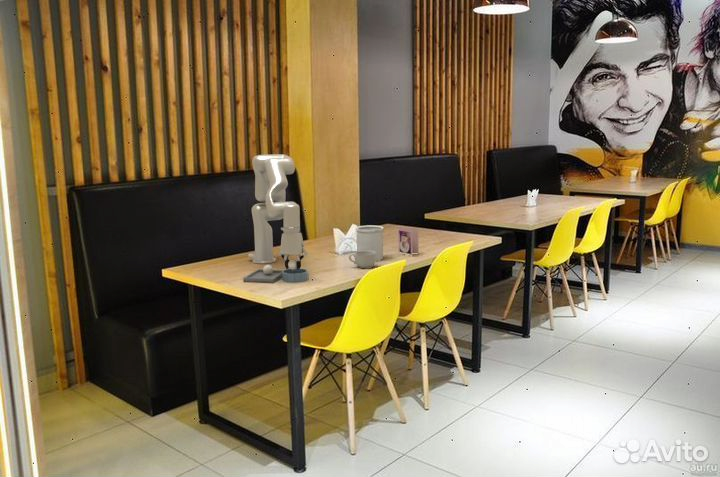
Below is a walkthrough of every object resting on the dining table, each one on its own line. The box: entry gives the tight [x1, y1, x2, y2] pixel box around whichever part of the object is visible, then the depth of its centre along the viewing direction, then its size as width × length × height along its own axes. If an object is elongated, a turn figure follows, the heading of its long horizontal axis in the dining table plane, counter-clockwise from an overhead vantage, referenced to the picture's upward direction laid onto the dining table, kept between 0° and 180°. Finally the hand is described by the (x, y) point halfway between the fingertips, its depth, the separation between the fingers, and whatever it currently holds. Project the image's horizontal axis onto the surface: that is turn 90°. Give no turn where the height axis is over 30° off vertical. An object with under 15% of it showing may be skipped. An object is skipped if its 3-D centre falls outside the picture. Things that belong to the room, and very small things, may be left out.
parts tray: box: [242, 268, 284, 284], centre depth 306 cm, size 15×18×2 cm
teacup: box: [348, 250, 376, 269], centre depth 327 cm, size 14×11×8 cm
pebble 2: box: [288, 259, 297, 270], centre depth 300 cm, size 5×5×5 cm
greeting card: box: [397, 227, 419, 256], centre depth 357 cm, size 11×7×15 cm, turn 39°
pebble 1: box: [262, 264, 274, 275], centre depth 310 cm, size 5×5×5 cm
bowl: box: [281, 267, 309, 283], centre depth 303 cm, size 12×12×4 cm
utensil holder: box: [355, 224, 385, 262], centre depth 345 cm, size 15×15×18 cm
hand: (293, 268), depth 300 cm, fingers closed on pebble 2, 4 cm apart
